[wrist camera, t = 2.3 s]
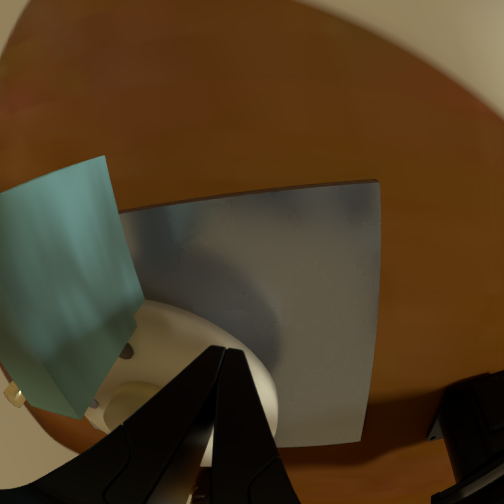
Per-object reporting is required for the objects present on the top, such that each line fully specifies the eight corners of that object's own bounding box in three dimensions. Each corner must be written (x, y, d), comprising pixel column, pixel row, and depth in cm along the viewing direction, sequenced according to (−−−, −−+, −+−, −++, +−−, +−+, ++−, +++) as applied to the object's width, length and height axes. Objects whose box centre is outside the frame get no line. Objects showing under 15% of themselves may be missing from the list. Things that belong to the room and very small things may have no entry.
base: (359, 434, 19) (366, 504, 14) (97, 423, 23) (71, 474, 18) (375, 179, 12) (435, 230, 7) (-2, 237, 16) (-65, 279, 10)
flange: (287, 454, 16) (281, 540, 11) (116, 439, 18) (87, 504, 13) (235, 126, 9) (163, 144, 4) (-6, 194, 11) (-98, 244, 6)
